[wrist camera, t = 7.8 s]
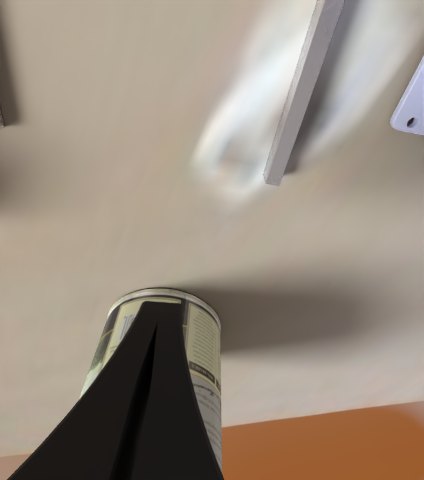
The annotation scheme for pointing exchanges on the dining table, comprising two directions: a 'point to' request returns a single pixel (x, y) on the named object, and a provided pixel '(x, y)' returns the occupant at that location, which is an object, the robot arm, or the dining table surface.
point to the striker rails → (299, 86)
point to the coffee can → (196, 345)
